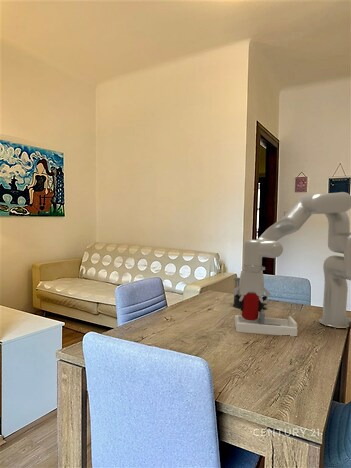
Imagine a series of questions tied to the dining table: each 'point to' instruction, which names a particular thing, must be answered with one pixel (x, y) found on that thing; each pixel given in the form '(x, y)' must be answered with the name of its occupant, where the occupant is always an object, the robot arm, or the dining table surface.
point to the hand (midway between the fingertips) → (250, 310)
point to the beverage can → (250, 306)
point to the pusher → (262, 319)
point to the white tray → (267, 326)
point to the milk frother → (236, 301)
